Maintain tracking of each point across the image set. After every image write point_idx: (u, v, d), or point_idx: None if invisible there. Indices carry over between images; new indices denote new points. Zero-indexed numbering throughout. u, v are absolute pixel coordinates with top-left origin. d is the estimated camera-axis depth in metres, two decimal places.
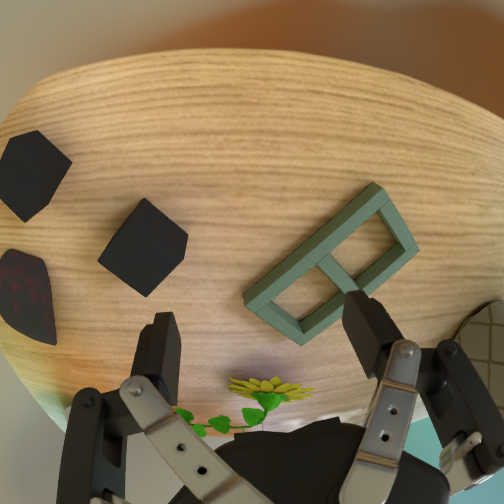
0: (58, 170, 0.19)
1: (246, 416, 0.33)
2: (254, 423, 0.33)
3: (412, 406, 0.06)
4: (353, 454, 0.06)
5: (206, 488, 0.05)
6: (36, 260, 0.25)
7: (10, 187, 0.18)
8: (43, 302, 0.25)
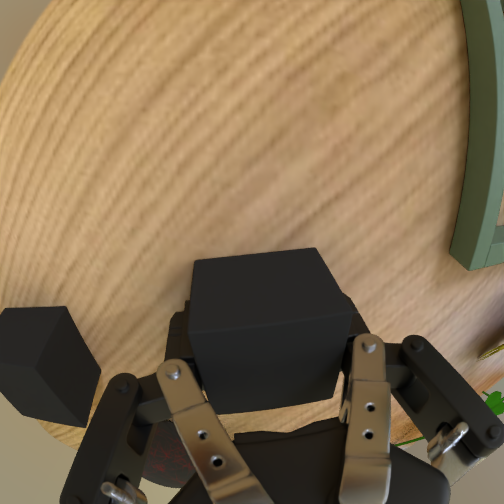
0: (47, 342, 0.11)
1: None
2: None
3: (388, 399, 0.07)
4: None
5: (217, 480, 0.05)
6: None
7: (31, 405, 0.11)
8: None
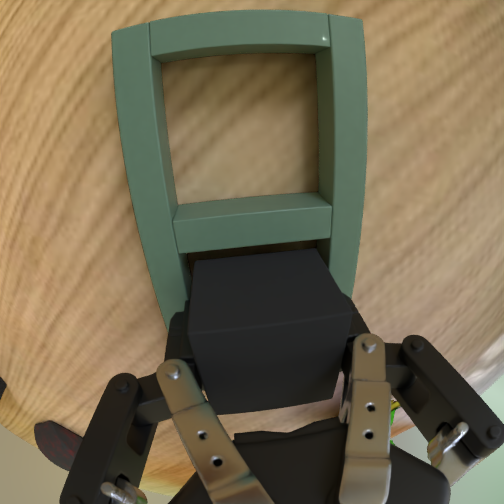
0: None
1: None
2: None
3: (388, 399, 0.07)
4: None
5: (216, 480, 0.05)
6: (47, 424, 0.22)
7: None
8: (73, 455, 0.21)
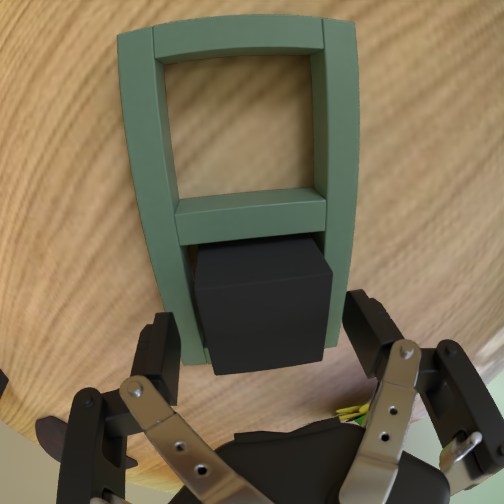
0: None
1: None
2: None
3: (412, 406, 0.06)
4: (353, 454, 0.06)
5: (206, 488, 0.05)
6: (48, 420, 0.22)
7: None
8: None
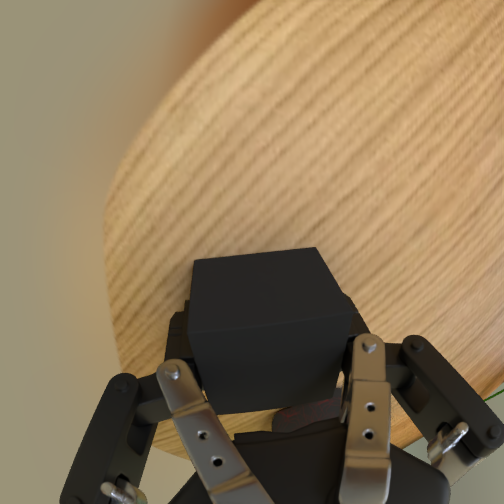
0: (336, 283, 0.11)
1: None
2: None
3: (388, 399, 0.07)
4: None
5: (217, 480, 0.05)
6: None
7: (266, 389, 0.11)
8: None
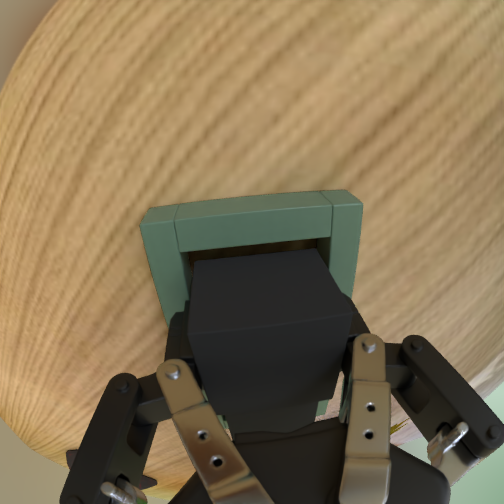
0: (336, 284, 0.11)
1: None
2: None
3: (388, 399, 0.07)
4: None
5: (217, 480, 0.05)
6: None
7: (266, 389, 0.11)
8: None
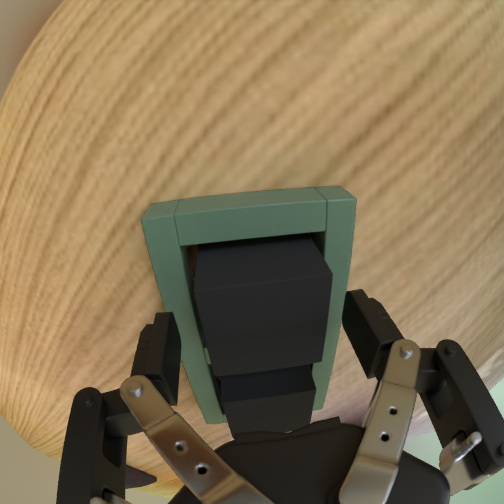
0: (320, 253, 0.13)
1: None
2: None
3: (412, 406, 0.06)
4: (353, 454, 0.06)
5: (206, 488, 0.05)
6: None
7: (261, 347, 0.13)
8: None
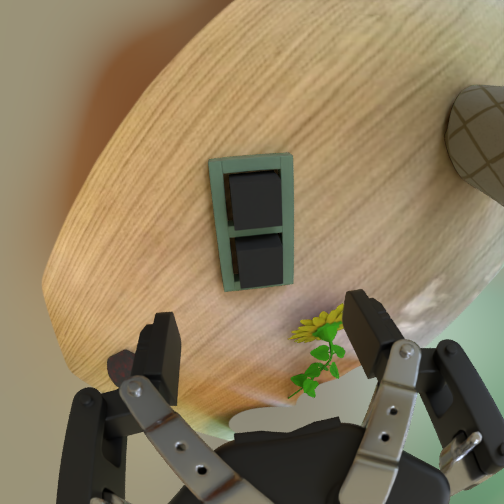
0: None
1: (317, 355, 0.42)
2: (327, 357, 0.42)
3: (412, 406, 0.06)
4: (353, 454, 0.06)
5: (206, 488, 0.05)
6: (122, 352, 0.45)
7: (255, 213, 0.32)
8: None
